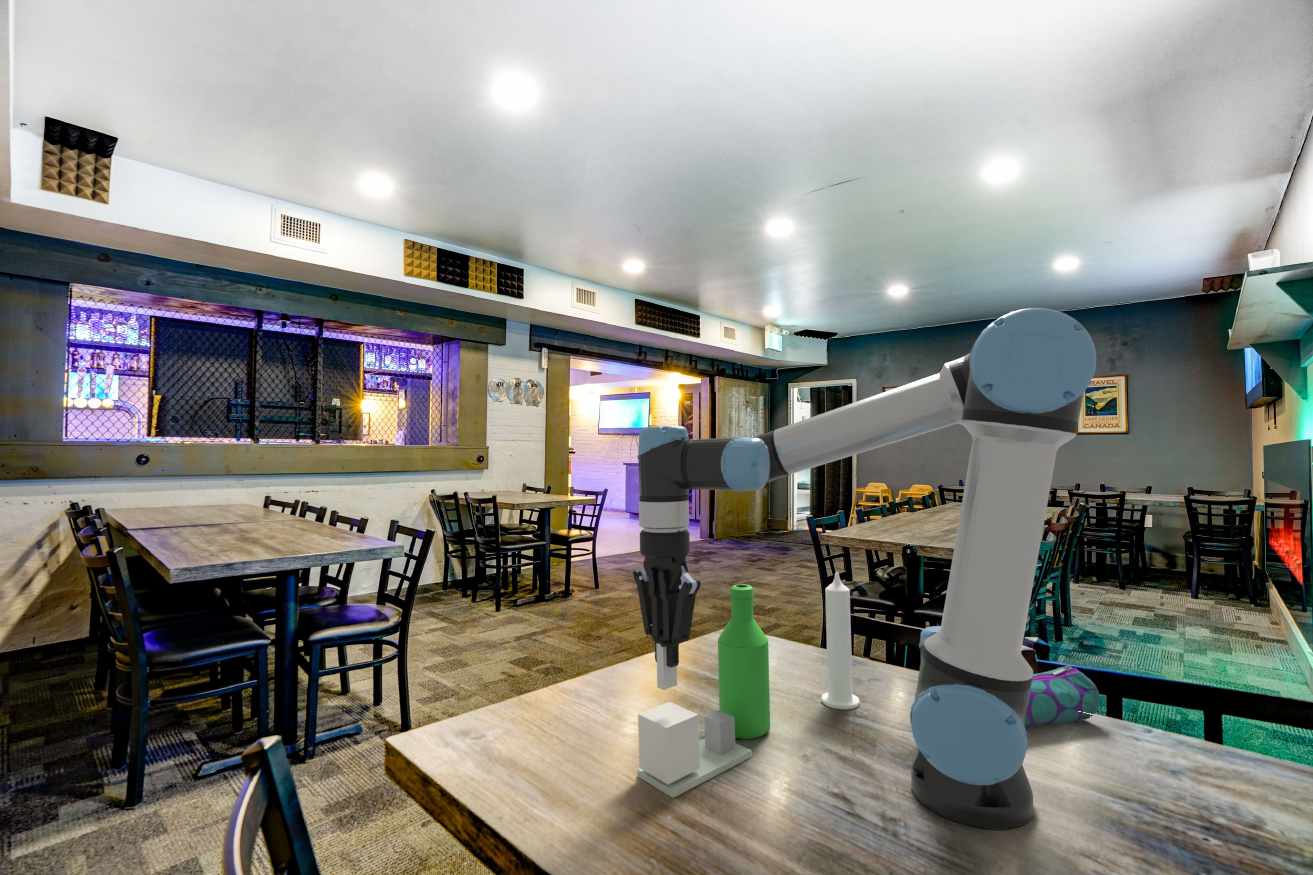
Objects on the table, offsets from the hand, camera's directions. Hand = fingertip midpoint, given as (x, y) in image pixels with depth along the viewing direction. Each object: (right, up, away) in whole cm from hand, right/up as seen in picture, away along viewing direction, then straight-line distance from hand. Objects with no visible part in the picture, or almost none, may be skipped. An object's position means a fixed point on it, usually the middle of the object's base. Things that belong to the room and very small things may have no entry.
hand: (667, 686), depth 92 cm
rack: (+5, -14, +3) cm, 15 cm away
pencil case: (+64, -13, +15) cm, 67 cm away
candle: (+34, -14, +26) cm, 45 cm away
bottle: (+14, -14, +15) cm, 25 cm away
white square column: (0, -12, 0) cm, 12 cm away
